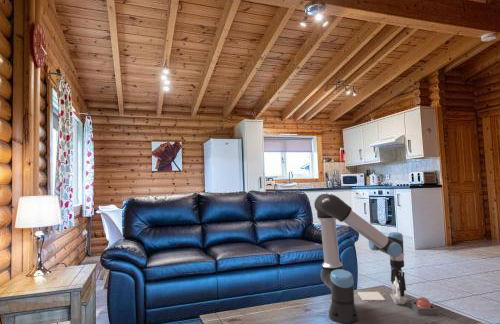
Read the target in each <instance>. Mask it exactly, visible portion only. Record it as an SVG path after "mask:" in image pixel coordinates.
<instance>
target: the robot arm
mask: <svg viewBox="0 0 500 324" xmlns="http://www.w3.org/2000/svg"><path fill="white" fill-rule="evenodd" d="M313 205H314V208H315V211H316V215H317V216H316V217H317V219H318V220H319V222H320V229H321V231H320V232H321V242H322V243H321V244H322V250H323V251H322V252H323V262H322V264H321V270H320V279H321V280H322V283H323V284H324V285H326V286H327V288H329V290H330V293H331V294H330V296H331V303H330V306H329V310H328V317H329V319H330V320H332V321H334V322H337V323H340V324H354V323H355V322H356V323H357V322H358V320H359V313H358V309H357V307H356V304H355V289H354V288H355V287H354V284H355V283H354V282H355V280H354V275H353V274H352V272H350V271H349V270H345V269H344V267H343V263H342V262H341V261H340V254H339V243H338V233H337V231H338V230H337V222H336V220H338V221H339V222H340V223H343V222H344V223H345V224H346V225H347V226H348V227H350V228H351V229H353V230H354V231H356V232H357V233H358V234H360V235H361V237H364V238H366V240H368V246H369V249H370V250H371V251H375V252H376V251H380V252H382V253H384V254H387V255H388V256H389V265H390V282H391V284H392V294H396V290H394V284H393V283H394V281H395V277H396V278H397V279H398V284H399V302H405V297H406V296H405V291H407V286H406V279H405V272H404V271H403V270H402V268H404V267H405V252H404V236H403V235H404V234H403V233H402V232H398V231H397V232H396V231H395V232H393V231H392V232H389V233H388V236H387V235H386V234H384V233H383V232H382V231H380V230H378V228H376V227H375V226H373V225H372V224H370V222H368V221H366V219H365V218H363V217H361V216H360V215H359V214H357V213H356V212H355V211H353V209H352V207H351V206H350V205H348V204H347V203H346V202H344V200H342V199H341V198H340V197H339V196H336V195H335V194H329V193H321V194H318V195H317V196H316V198H315V200H314V202H313ZM399 280H400V282H399Z"/></svg>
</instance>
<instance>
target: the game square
mask: <svg viewBox="0 0 500 324" xmlns="http://www.w3.org/2000/svg"><path fill="white" fill-rule="evenodd" d="M357 294H358V296H359V297H360V299H361V300H362V301H363V302H365V301H367V302H368V301H369V302H371V301H372V302H374V301H375V302H380V301H382V302H385V301H386V298H385V297H384V296H383V295H382V294H381V293H380V292H379V291H357Z"/></svg>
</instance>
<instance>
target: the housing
mask: <svg viewBox="0 0 500 324" xmlns="http://www.w3.org/2000/svg"><path fill="white" fill-rule="evenodd" d="M409 304H410V305H409V307H410V308H411V309H412V310H413V311H414V312H415V313H416V314H417V315H421V316H424V315H426V316H427V315H433V316H435V315H439V312H438V311H439V310H438V308H437V307H436V306H434V305H433V304H432V303H431V302H430V304H431V308H419V307H417V306H416V301H410V303H409Z"/></svg>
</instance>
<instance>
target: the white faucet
mask: <svg viewBox="0 0 500 324" xmlns="http://www.w3.org/2000/svg"><path fill="white" fill-rule="evenodd" d="M399 282H400V280H399ZM393 284H394V290H396V294H393V293H390V298H391V299H392V301H393V302H394V303H395V304H396V305H405V304H406V302H407V301H408V297H406V296H405V302H399V284H398V279H397V278H396V277H395V281H394V283H393ZM393 284H392V285H393Z"/></svg>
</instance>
